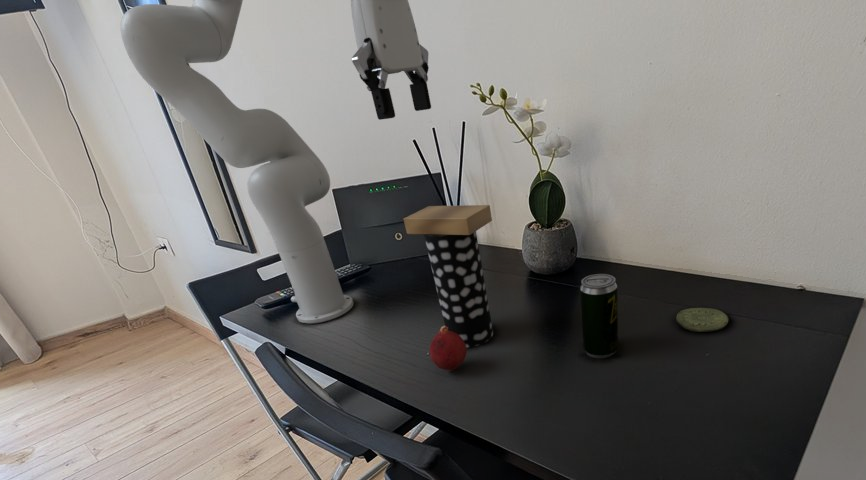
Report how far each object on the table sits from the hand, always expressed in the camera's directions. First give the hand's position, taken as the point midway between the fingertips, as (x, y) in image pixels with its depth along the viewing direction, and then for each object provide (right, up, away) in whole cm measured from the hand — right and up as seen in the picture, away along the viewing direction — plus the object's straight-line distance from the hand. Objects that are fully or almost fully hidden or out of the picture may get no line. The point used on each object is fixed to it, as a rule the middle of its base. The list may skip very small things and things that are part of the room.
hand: (405, 114), depth 77 cm
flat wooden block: (+7, -19, -2) cm, 21 cm away
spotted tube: (+10, -36, +9) cm, 39 cm away
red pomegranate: (+8, -42, -1) cm, 43 cm away
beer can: (+32, -39, -2) cm, 50 cm away
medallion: (+49, -34, +1) cm, 60 cm away
